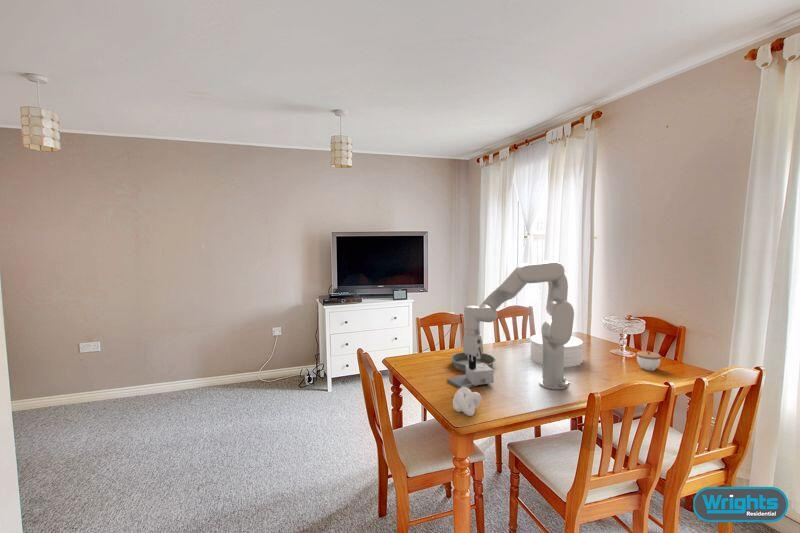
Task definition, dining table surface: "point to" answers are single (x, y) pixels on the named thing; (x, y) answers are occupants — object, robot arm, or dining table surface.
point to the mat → (460, 381)
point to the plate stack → (570, 350)
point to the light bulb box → (480, 374)
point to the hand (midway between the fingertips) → (472, 368)
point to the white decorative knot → (466, 401)
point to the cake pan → (462, 360)
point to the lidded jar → (648, 360)
